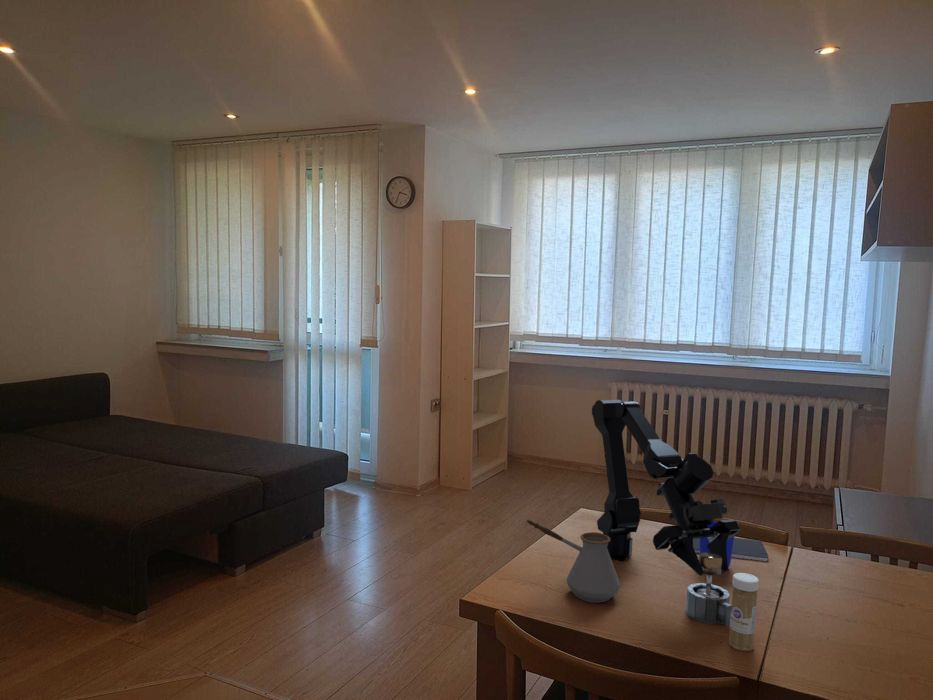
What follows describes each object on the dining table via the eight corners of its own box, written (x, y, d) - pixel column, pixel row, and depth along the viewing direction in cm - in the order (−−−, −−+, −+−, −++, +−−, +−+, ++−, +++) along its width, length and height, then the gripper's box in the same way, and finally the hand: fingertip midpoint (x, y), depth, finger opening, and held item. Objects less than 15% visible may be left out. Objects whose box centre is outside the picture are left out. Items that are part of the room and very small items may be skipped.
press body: (678, 608, 145) (679, 585, 145) (709, 603, 148) (710, 581, 148) (711, 631, 136) (713, 606, 135) (743, 625, 139) (745, 601, 138)
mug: (723, 555, 176) (725, 517, 176) (736, 574, 165) (739, 533, 164) (690, 553, 177) (692, 515, 176) (701, 572, 165) (703, 531, 164)
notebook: (761, 546, 186) (678, 536, 191) (761, 540, 186) (678, 531, 191) (768, 563, 173) (680, 553, 179) (769, 557, 173) (680, 547, 179)
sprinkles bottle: (724, 646, 130) (729, 576, 129) (733, 637, 133) (737, 569, 132) (749, 655, 127) (754, 583, 126) (757, 646, 131) (762, 576, 129)
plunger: (692, 592, 144) (694, 553, 143) (709, 590, 145) (711, 551, 145) (706, 601, 140) (709, 561, 139) (724, 599, 141) (726, 559, 141)
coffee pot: (620, 588, 155) (624, 522, 154) (618, 610, 144) (621, 539, 142) (526, 575, 160) (529, 511, 159) (517, 595, 149) (519, 527, 148)
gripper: (664, 488, 141) (697, 561, 132) (737, 482, 148) (773, 551, 138) (639, 514, 149) (668, 584, 140) (709, 507, 156) (742, 574, 146)
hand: (714, 573), depth 141 cm, fingers open, 6 cm apart
